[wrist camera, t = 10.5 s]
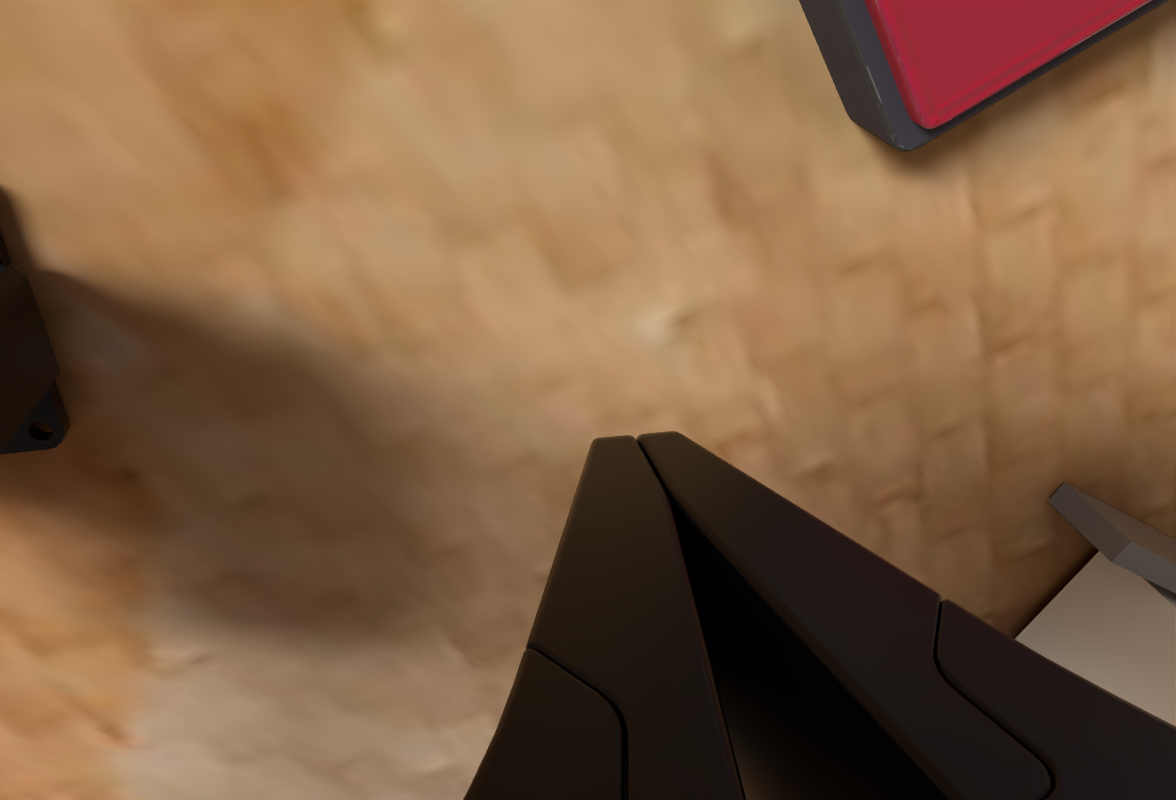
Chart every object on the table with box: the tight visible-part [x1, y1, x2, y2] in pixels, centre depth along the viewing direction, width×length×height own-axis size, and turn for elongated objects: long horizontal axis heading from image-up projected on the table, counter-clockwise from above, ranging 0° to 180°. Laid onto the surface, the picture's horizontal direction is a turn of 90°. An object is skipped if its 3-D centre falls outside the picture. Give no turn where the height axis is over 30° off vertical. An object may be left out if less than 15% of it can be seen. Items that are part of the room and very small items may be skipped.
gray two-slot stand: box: [1048, 482, 1176, 594], centre depth 31 cm, size 9×18×3 cm, turn 149°
